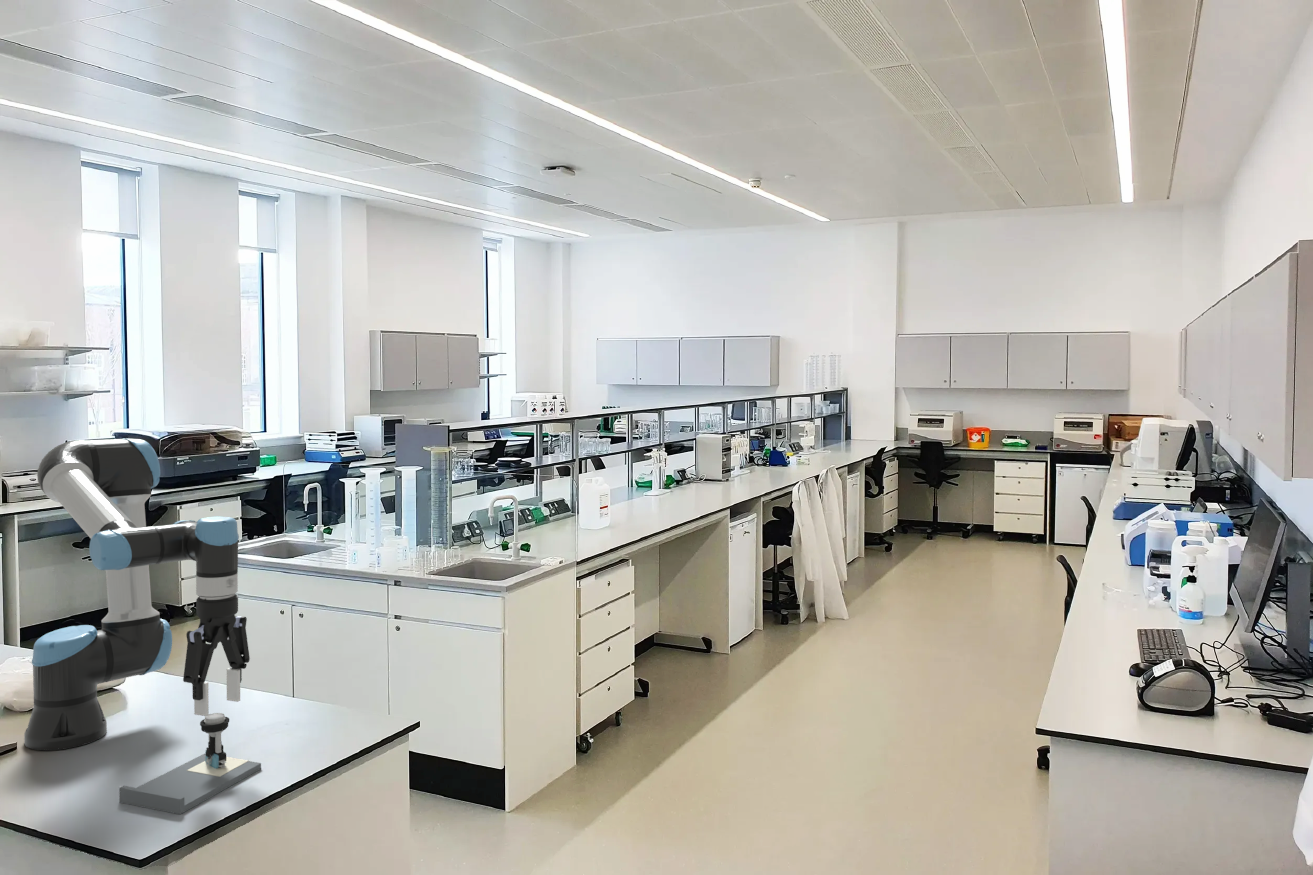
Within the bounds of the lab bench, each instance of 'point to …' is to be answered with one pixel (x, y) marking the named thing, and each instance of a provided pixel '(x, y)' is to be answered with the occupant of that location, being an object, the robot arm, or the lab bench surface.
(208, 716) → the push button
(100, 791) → the lab bench surface
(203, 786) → the grey lipped board
